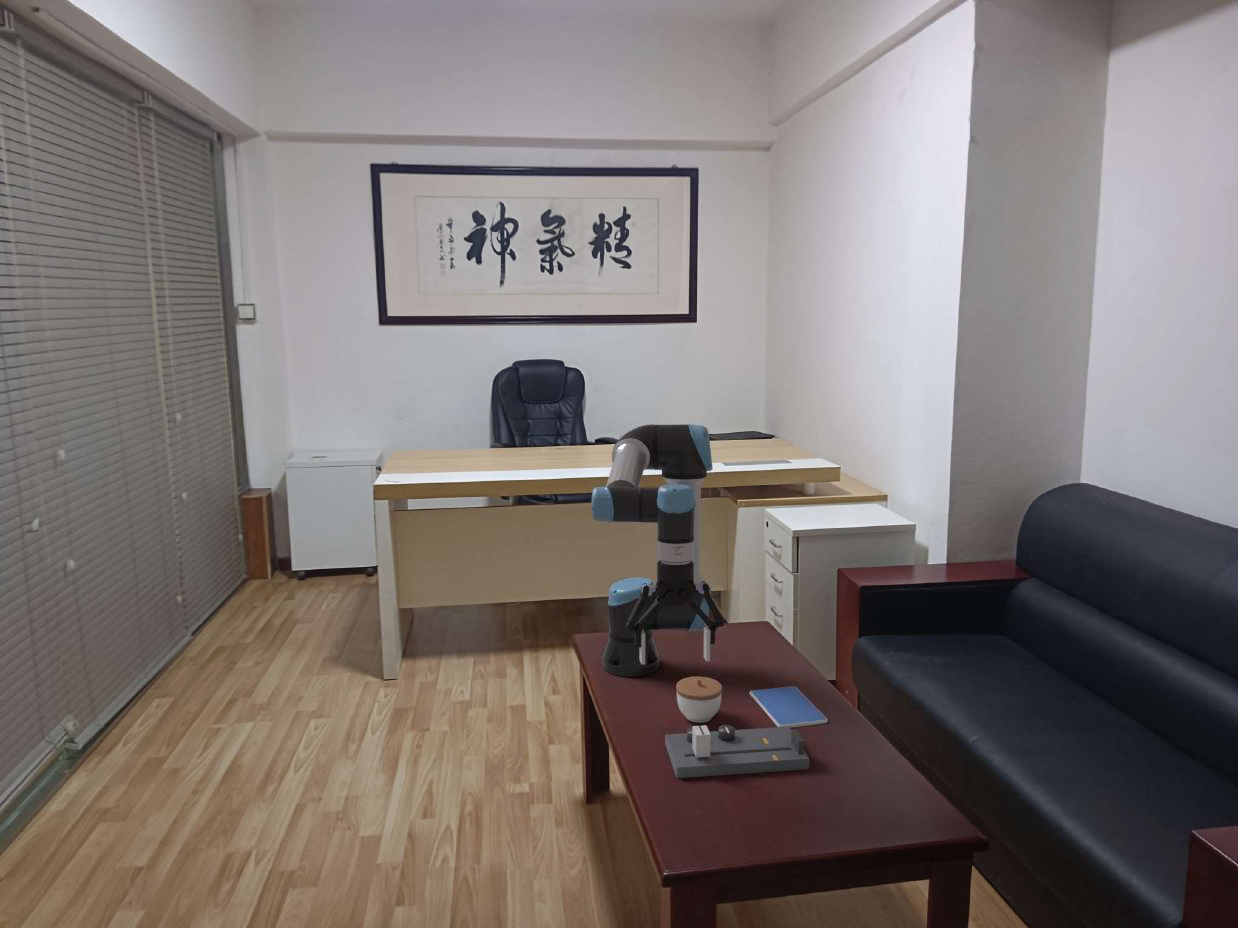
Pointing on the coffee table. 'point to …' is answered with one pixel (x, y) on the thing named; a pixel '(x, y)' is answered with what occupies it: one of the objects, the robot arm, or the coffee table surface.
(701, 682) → the lidded jar
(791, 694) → the tablet computer
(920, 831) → the coffee table surface
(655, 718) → the coffee table surface
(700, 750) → the fader tab
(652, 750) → the coffee table surface
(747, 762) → the console
